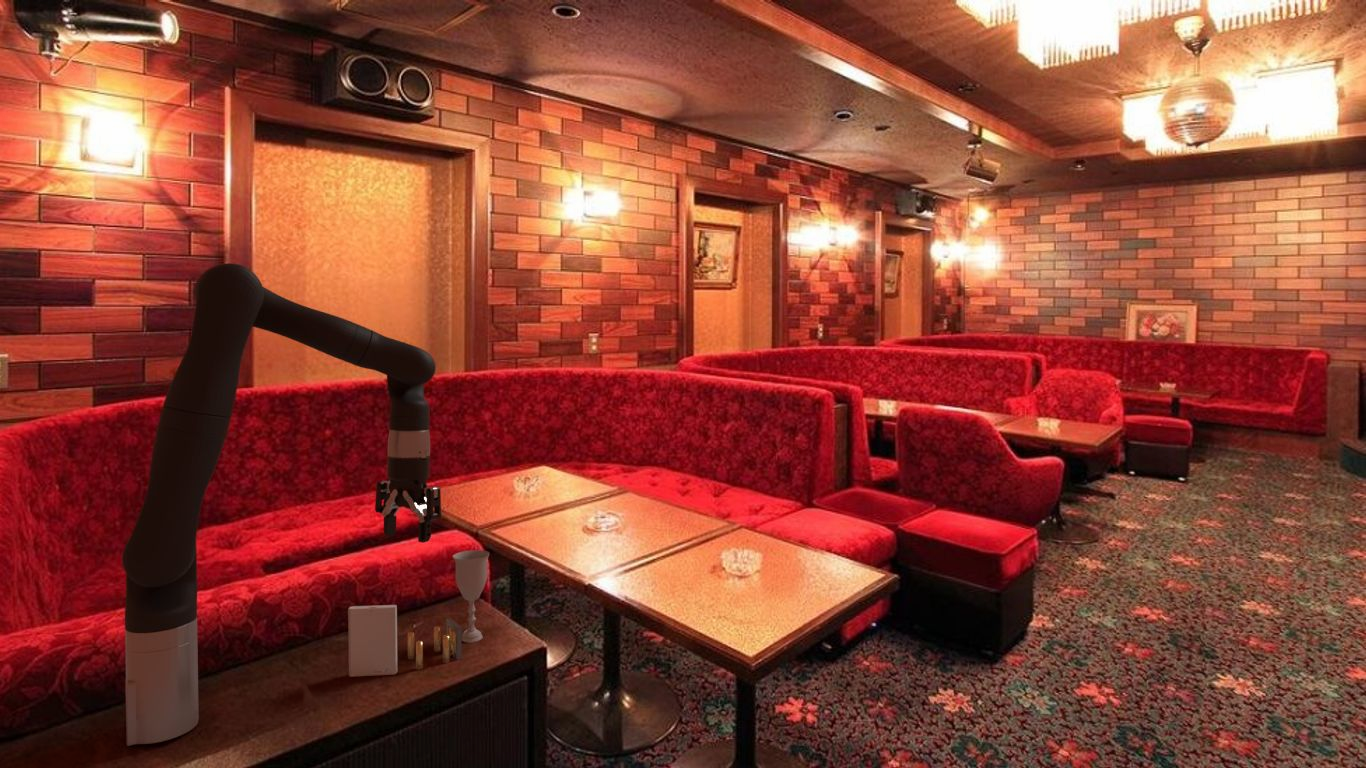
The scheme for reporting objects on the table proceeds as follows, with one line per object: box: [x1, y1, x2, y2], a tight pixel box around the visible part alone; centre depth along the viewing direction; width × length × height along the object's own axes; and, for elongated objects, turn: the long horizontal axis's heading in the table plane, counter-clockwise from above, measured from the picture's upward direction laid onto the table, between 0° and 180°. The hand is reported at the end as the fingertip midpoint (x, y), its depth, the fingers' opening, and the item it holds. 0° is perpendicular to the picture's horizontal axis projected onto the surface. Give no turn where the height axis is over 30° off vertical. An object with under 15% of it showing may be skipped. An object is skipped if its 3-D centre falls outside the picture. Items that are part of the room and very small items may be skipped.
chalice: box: [452, 549, 490, 644], centre depth 145 cm, size 7×7×18 cm
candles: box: [407, 617, 463, 671], centre depth 137 cm, size 9×6×6 cm
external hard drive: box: [347, 604, 398, 678], centre depth 131 cm, size 2×8×12 cm, turn 98°
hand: (406, 538), depth 136 cm, fingers open, 8 cm apart
